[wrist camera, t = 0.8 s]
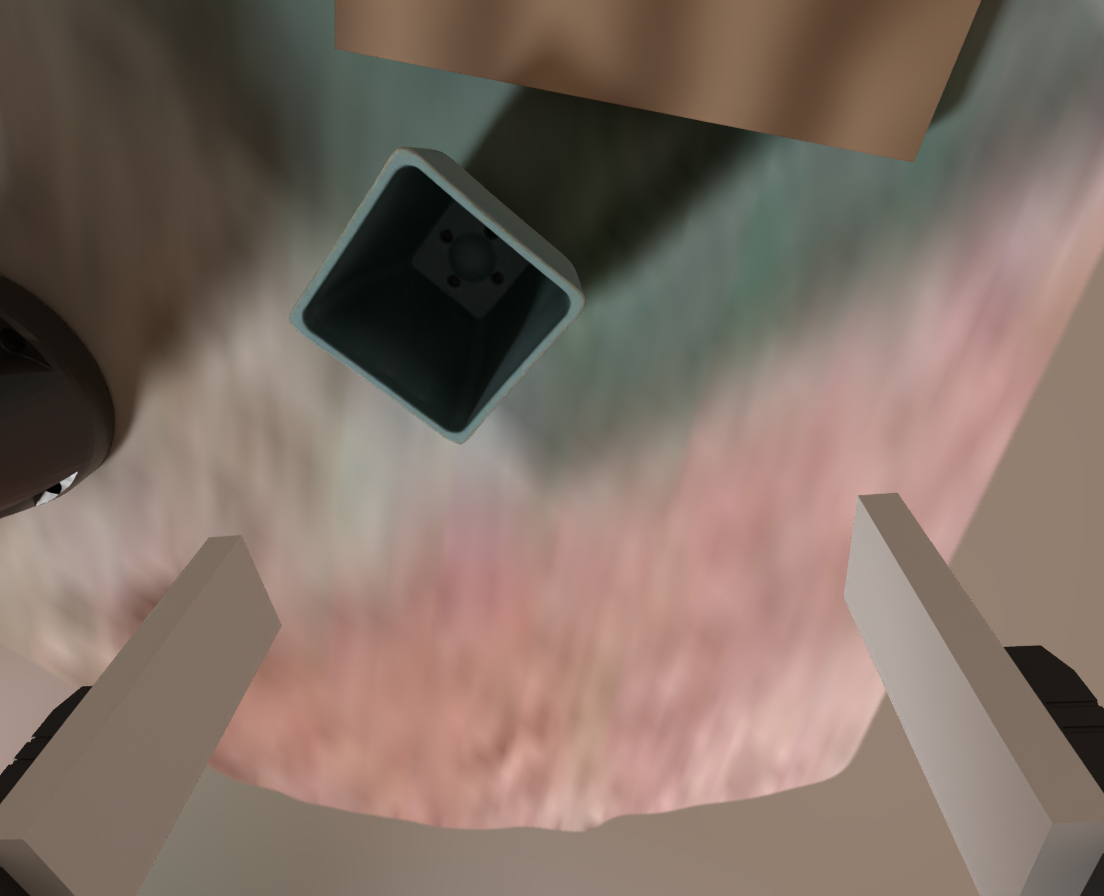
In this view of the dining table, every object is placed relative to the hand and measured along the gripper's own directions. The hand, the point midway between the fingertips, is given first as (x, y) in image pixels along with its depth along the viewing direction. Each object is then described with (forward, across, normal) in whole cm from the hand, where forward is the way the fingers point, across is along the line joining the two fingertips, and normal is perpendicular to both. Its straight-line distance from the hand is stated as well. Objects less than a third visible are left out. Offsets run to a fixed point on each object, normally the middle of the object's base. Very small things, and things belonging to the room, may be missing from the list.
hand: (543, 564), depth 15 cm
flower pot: (+23, -5, +1) cm, 23 cm away
